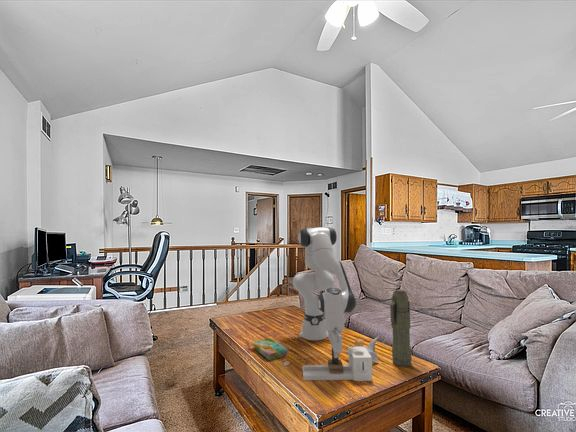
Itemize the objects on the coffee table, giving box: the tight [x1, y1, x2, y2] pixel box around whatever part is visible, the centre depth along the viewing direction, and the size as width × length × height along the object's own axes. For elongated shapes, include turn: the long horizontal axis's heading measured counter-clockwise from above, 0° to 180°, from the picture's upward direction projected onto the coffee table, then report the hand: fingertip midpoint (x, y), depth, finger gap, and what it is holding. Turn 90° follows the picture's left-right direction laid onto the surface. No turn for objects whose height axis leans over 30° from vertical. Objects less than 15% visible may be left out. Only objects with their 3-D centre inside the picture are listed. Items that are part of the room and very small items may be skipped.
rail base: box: [302, 346, 373, 382], centre depth 139 cm, size 13×30×10 cm, turn 89°
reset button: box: [354, 338, 365, 347], centre depth 140 cm, size 4×4×2 cm
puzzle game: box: [251, 337, 289, 361], centre depth 165 cm, size 12×5×20 cm
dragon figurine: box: [346, 335, 381, 365], centre depth 156 cm, size 15×15×9 cm
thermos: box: [389, 289, 412, 368], centre depth 151 cm, size 9×12×35 cm
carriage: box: [327, 347, 344, 373], centre depth 139 cm, size 7×6×10 cm
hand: (335, 355), depth 140 cm, fingers closed on carriage, 3 cm apart
